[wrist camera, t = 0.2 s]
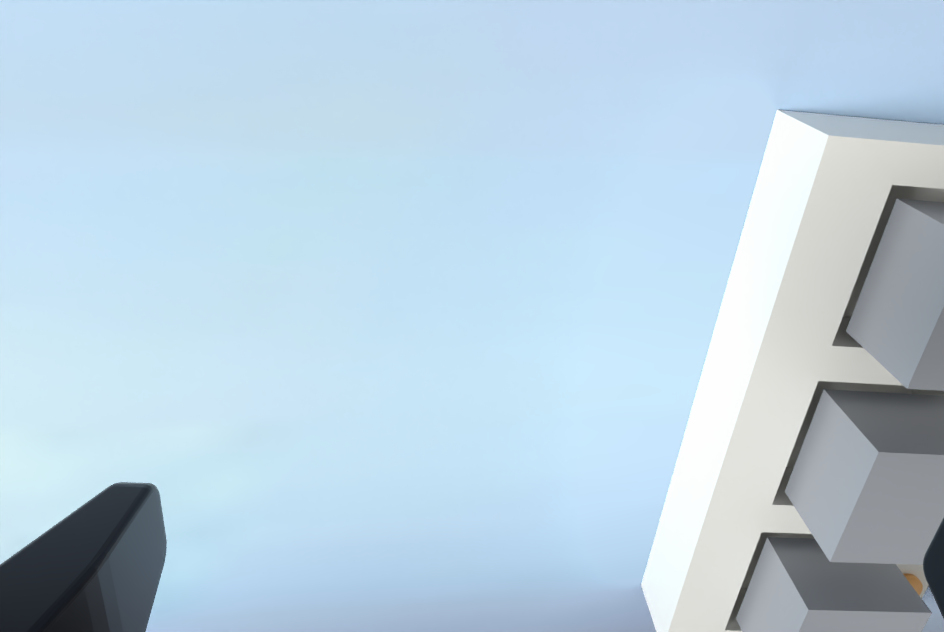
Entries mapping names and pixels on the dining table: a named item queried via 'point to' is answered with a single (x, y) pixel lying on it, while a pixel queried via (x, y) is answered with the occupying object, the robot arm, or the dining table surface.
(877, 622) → the key far
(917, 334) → the key near
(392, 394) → the dining table surface
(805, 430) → the keypad
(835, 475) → the key middle
